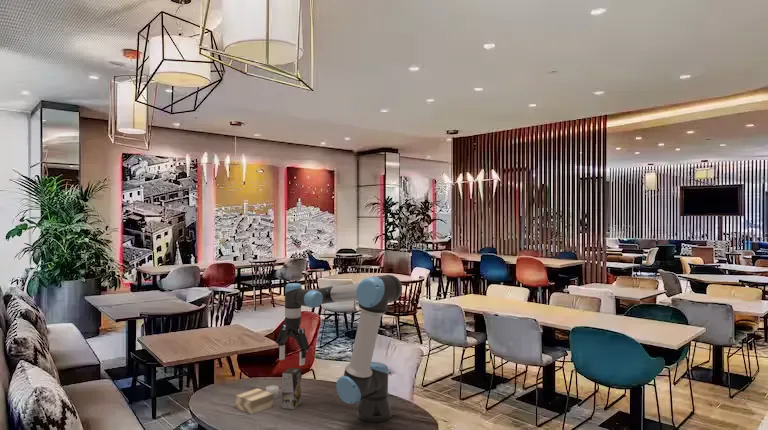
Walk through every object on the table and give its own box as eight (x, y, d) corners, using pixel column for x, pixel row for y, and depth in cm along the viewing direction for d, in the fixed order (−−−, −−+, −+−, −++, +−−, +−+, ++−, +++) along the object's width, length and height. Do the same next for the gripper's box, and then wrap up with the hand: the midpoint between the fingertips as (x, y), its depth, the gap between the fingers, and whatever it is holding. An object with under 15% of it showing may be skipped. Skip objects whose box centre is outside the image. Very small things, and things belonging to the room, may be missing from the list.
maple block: (273, 406, 225) (273, 393, 225) (251, 414, 216) (251, 401, 216) (256, 400, 233) (257, 388, 233) (235, 408, 223) (235, 394, 223)
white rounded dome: (280, 397, 237) (281, 386, 237) (271, 400, 232) (271, 390, 232) (272, 394, 241) (272, 384, 241) (263, 397, 236) (263, 387, 236)
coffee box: (294, 409, 222) (294, 373, 222) (281, 408, 223) (281, 372, 223) (301, 402, 230) (302, 368, 231) (289, 401, 232) (289, 367, 232)
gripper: (317, 319, 223) (316, 365, 223) (281, 312, 238) (280, 355, 238) (305, 321, 217) (304, 369, 217) (268, 314, 232) (267, 358, 232)
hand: (291, 362), depth 227 cm, fingers open, 13 cm apart
